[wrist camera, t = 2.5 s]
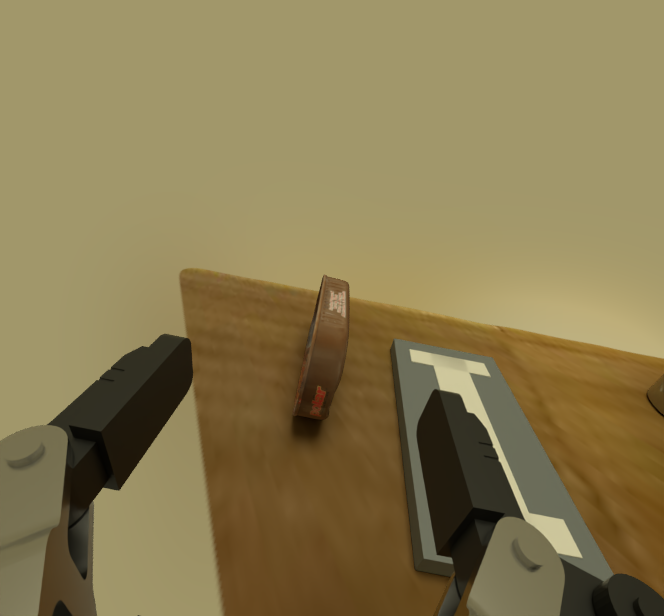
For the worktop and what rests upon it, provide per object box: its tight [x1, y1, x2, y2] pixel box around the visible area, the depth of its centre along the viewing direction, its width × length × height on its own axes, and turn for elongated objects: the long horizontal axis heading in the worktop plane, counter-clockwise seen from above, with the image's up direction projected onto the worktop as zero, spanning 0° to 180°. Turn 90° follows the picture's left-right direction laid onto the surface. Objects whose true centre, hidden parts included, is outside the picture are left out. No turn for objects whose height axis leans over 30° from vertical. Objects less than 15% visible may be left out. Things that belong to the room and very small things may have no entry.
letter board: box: [391, 339, 614, 581], centre depth 25 cm, size 11×20×2 cm, turn 174°
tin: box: [293, 275, 349, 420], centre depth 27 cm, size 15×3×8 cm, turn 177°
